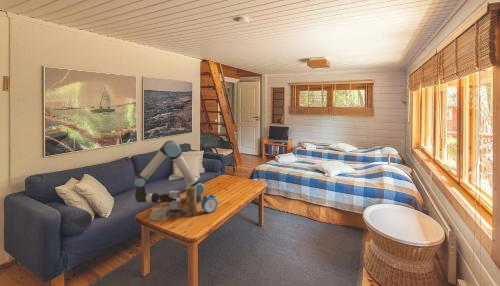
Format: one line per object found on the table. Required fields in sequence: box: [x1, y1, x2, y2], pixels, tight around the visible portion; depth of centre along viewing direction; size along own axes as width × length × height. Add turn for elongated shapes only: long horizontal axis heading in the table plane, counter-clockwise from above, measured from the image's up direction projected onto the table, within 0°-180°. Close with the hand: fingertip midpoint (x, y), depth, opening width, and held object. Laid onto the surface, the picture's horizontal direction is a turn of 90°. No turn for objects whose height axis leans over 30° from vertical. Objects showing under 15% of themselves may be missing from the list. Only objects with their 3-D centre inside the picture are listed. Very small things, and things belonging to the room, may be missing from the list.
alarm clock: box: [200, 193, 219, 214], centre depth 223 cm, size 13×6×15 cm, turn 124°
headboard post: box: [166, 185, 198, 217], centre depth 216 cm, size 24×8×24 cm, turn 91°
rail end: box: [168, 190, 181, 210], centre depth 216 cm, size 8×5×14 cm, turn 91°
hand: (181, 198), depth 216 cm, fingers closed on rail end, 5 cm apart
